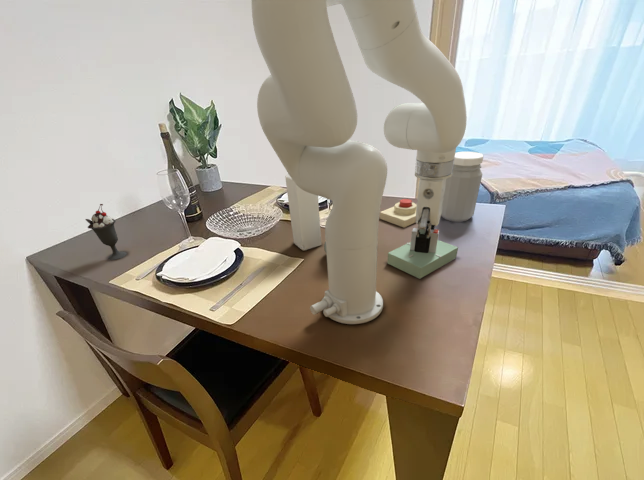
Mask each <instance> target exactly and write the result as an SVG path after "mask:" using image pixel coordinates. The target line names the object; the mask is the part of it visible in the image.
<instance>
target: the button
mask: <svg viewBox="0 0 644 480" xmlns="http://www.w3.org/2000/svg"><path fill="white" fill-rule="evenodd" d="M399 202H400V207H403V208H408V207H411V206H412V202H413V200H412V199H410V198H403V199H400V200H399Z"/></svg>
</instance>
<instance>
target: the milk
mask: <svg viewBox="0 0 644 480" xmlns="http://www.w3.org/2000/svg"><path fill="white" fill-rule="evenodd" d="M284 178H285V185H286V194H287V202H288V208H289V218H290V224H291V225H290V226H291V233H292V239H293V244H294V245H295V246H296V247H298V248H299V249H300V250H301V251H302V252H304V251H307V250H311V249H314V248H317V247H321V246H322V232H321V231H322V230H321V220H320V219H321V217H320V204H319V203H320V201H319V196H318V195H314V194H311V193H308V192H306V191H304V190H302V189H301V188H299V187H298V186H297V185H296V184H295V182H294V181H293V180H292V178H291V177H290V175H289V174H288V173H287V174H286V175H285V177H284Z"/></svg>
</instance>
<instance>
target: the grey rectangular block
mask: <svg viewBox="0 0 644 480" xmlns="http://www.w3.org/2000/svg"><path fill="white" fill-rule="evenodd" d="M417 230H418V227H417V228H416V227H413V228H412V229H411V234H410V235H411V236H410V242H411V245H410V250H414V249H415V240H416V235H417ZM427 231H428V229H427ZM430 236H431V239H430V246H429V252H431V253H436V249H437V243H438V240H439V237H440V229H437V228H434V230H431V231H430Z"/></svg>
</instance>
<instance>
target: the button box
mask: <svg viewBox="0 0 644 480" xmlns="http://www.w3.org/2000/svg"><path fill="white" fill-rule="evenodd" d="M416 207H417V203H415V202H414V201H412V206H411V207H408V208H403V207H400V201H398V202H395V204H394V206H391V207H389V208H387V209H384V210H382V211H381V210H380V214H379V220H383V221H385V222H388V223H390V224H393V225H396V226H398V227H401V228H407V227H408V226H411V225H413V224H416Z"/></svg>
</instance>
